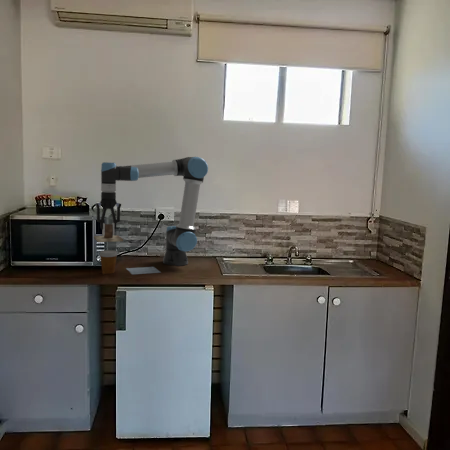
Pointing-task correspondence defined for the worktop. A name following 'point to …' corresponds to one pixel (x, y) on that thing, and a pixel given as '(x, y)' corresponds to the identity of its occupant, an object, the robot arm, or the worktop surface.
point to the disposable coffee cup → (108, 261)
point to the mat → (143, 270)
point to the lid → (108, 235)
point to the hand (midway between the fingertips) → (108, 235)
